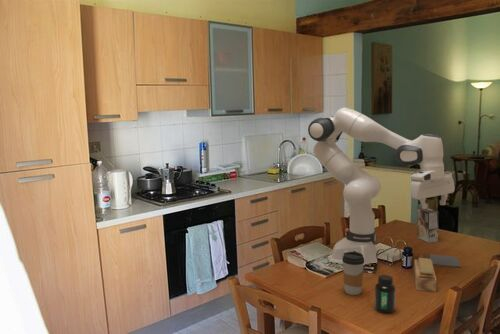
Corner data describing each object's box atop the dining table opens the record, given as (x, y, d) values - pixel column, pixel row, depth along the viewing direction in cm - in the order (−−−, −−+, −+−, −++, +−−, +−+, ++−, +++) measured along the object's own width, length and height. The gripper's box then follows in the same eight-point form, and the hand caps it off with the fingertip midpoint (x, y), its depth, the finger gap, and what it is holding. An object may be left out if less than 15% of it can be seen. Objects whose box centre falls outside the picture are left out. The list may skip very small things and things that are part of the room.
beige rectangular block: (419, 275, 166) (420, 265, 166) (418, 266, 175) (418, 257, 174) (432, 276, 165) (432, 267, 164) (430, 268, 173) (430, 258, 173)
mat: (431, 265, 189) (431, 263, 189) (428, 255, 200) (428, 254, 200) (460, 267, 185) (460, 266, 185) (456, 257, 196) (456, 256, 196)
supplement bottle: (386, 315, 146) (387, 283, 144) (370, 308, 152) (371, 276, 150) (398, 309, 150) (399, 277, 148) (382, 302, 156) (383, 271, 154)
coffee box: (438, 241, 219) (439, 211, 216) (428, 243, 217) (429, 212, 215) (426, 236, 228) (427, 207, 225) (416, 237, 226) (417, 208, 223)
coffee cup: (347, 285, 171) (348, 249, 168) (367, 290, 166) (368, 254, 163) (338, 292, 164) (338, 256, 162) (358, 298, 159) (358, 260, 157)
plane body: (416, 289, 165) (417, 270, 164) (413, 270, 184) (414, 252, 183) (435, 292, 163) (436, 272, 162) (431, 271, 182) (432, 254, 180)
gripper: (445, 169, 179) (446, 201, 180) (407, 176, 171) (409, 209, 173) (457, 170, 173) (459, 203, 174) (418, 177, 166) (420, 212, 167)
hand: (433, 206), depth 174 cm, fingers open, 8 cm apart
